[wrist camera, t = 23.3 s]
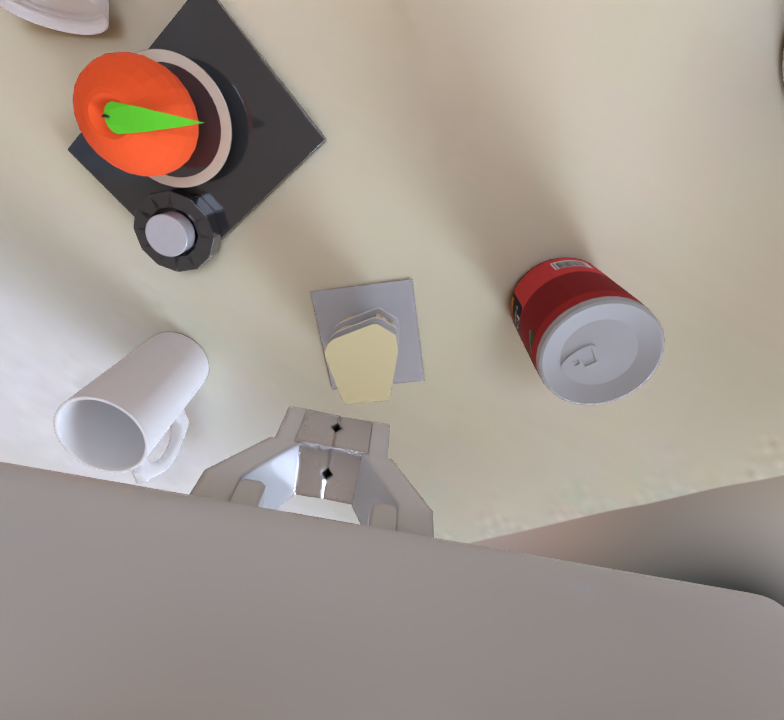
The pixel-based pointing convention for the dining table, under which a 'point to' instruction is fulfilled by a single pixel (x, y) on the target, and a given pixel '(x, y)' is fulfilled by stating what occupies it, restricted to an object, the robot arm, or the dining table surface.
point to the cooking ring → (209, 110)
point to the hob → (248, 146)
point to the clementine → (135, 114)
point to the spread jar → (63, 14)
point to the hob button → (170, 233)
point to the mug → (134, 408)
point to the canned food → (585, 332)
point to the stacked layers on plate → (369, 338)
